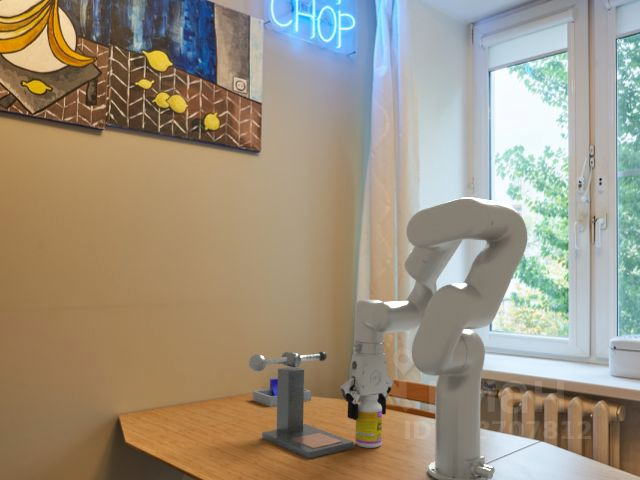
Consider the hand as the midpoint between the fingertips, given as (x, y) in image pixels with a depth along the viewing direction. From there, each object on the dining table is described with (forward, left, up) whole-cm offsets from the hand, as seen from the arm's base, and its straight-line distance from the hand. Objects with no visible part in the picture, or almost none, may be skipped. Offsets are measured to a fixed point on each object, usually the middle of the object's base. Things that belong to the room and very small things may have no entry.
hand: (366, 415), depth 144 cm
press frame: (+9, +12, -7) cm, 17 cm away
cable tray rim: (+52, -10, -7) cm, 54 cm away
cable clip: (+52, -10, -7) cm, 54 cm away
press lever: (+17, +12, +11) cm, 24 cm away
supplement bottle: (-1, 0, -7) cm, 7 cm away
